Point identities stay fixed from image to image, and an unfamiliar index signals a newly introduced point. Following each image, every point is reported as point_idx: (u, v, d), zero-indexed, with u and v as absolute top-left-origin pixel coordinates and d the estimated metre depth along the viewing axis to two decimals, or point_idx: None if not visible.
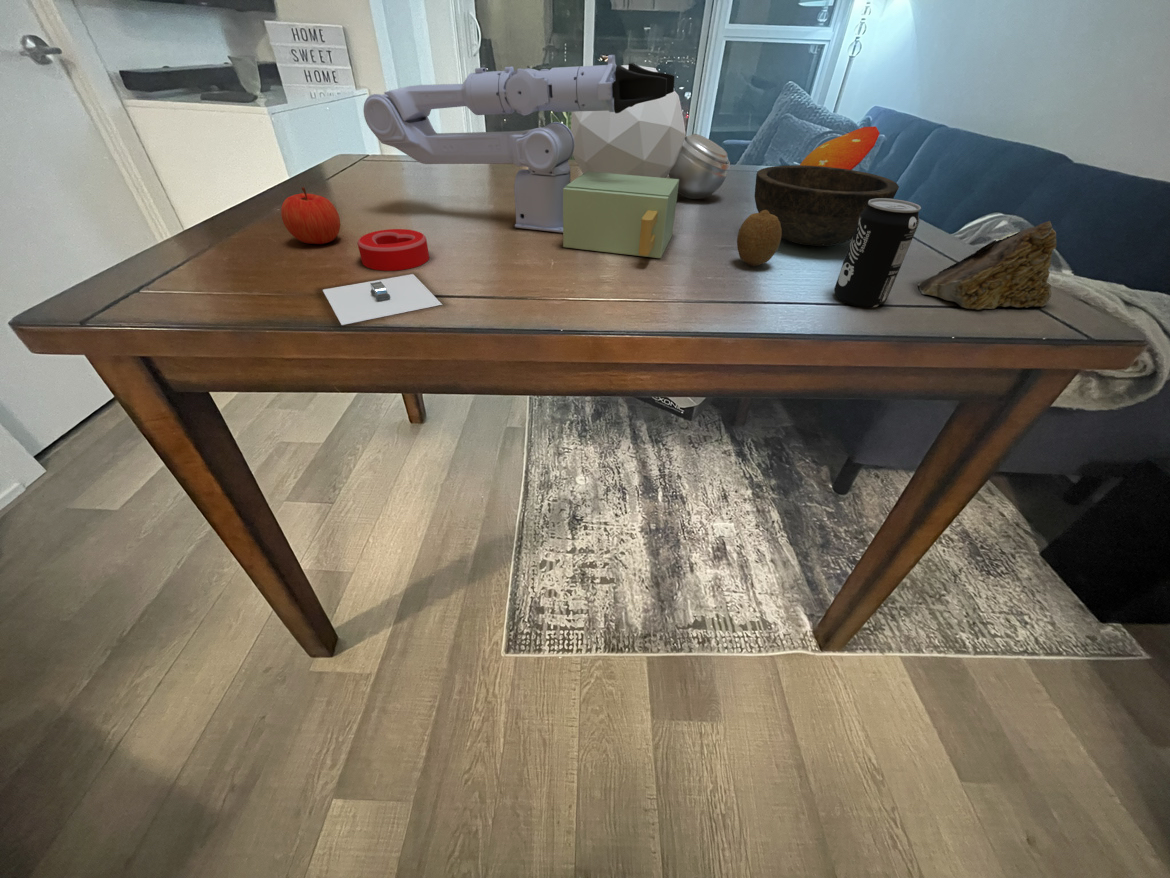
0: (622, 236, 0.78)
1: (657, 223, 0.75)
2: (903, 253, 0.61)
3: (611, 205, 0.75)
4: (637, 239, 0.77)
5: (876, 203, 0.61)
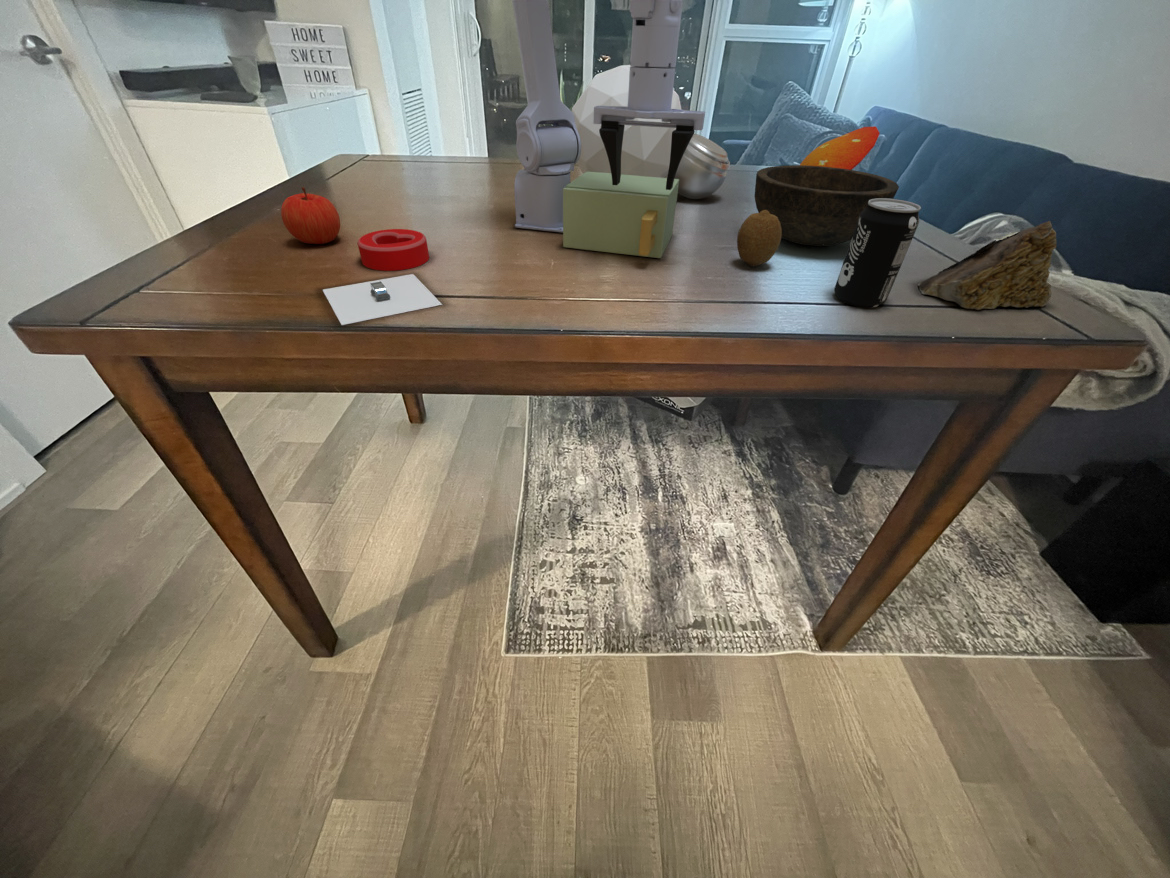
0: (622, 236, 0.78)
1: (657, 223, 0.75)
2: (903, 253, 0.61)
3: (611, 205, 0.75)
4: (637, 239, 0.77)
5: (876, 203, 0.61)
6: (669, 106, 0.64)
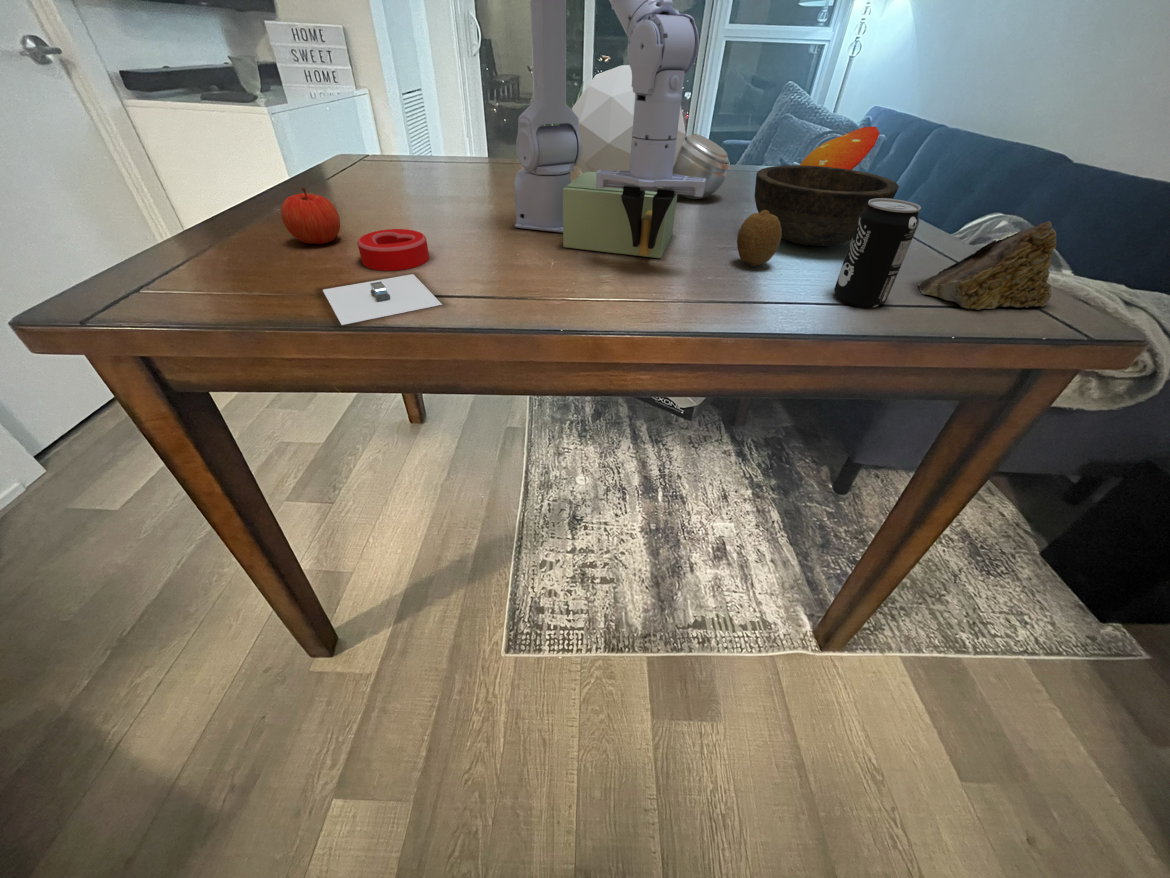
0: (622, 236, 0.78)
1: None
2: (903, 253, 0.61)
3: (611, 205, 0.75)
4: None
5: (876, 203, 0.61)
6: (670, 174, 0.65)
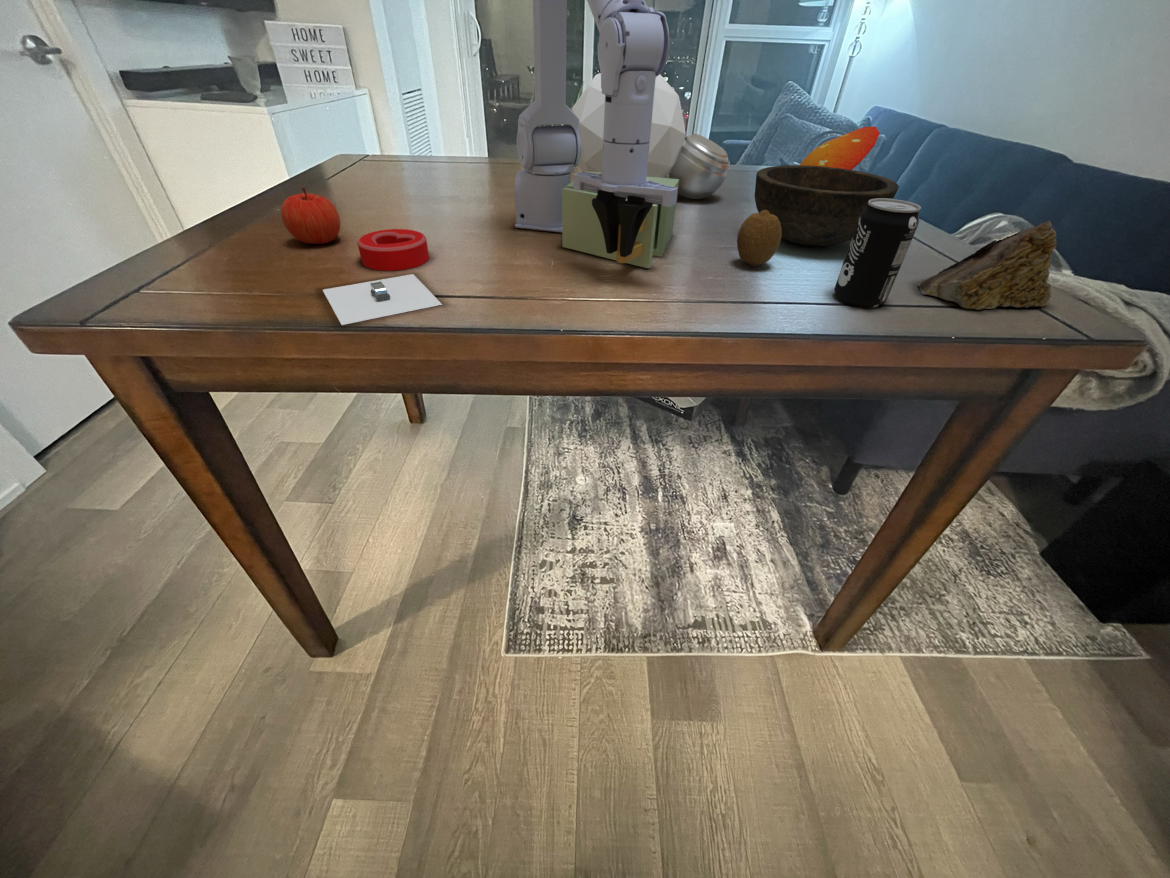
0: None
1: (645, 231, 0.72)
2: (903, 253, 0.61)
3: None
4: None
5: (876, 203, 0.61)
6: (639, 180, 0.62)
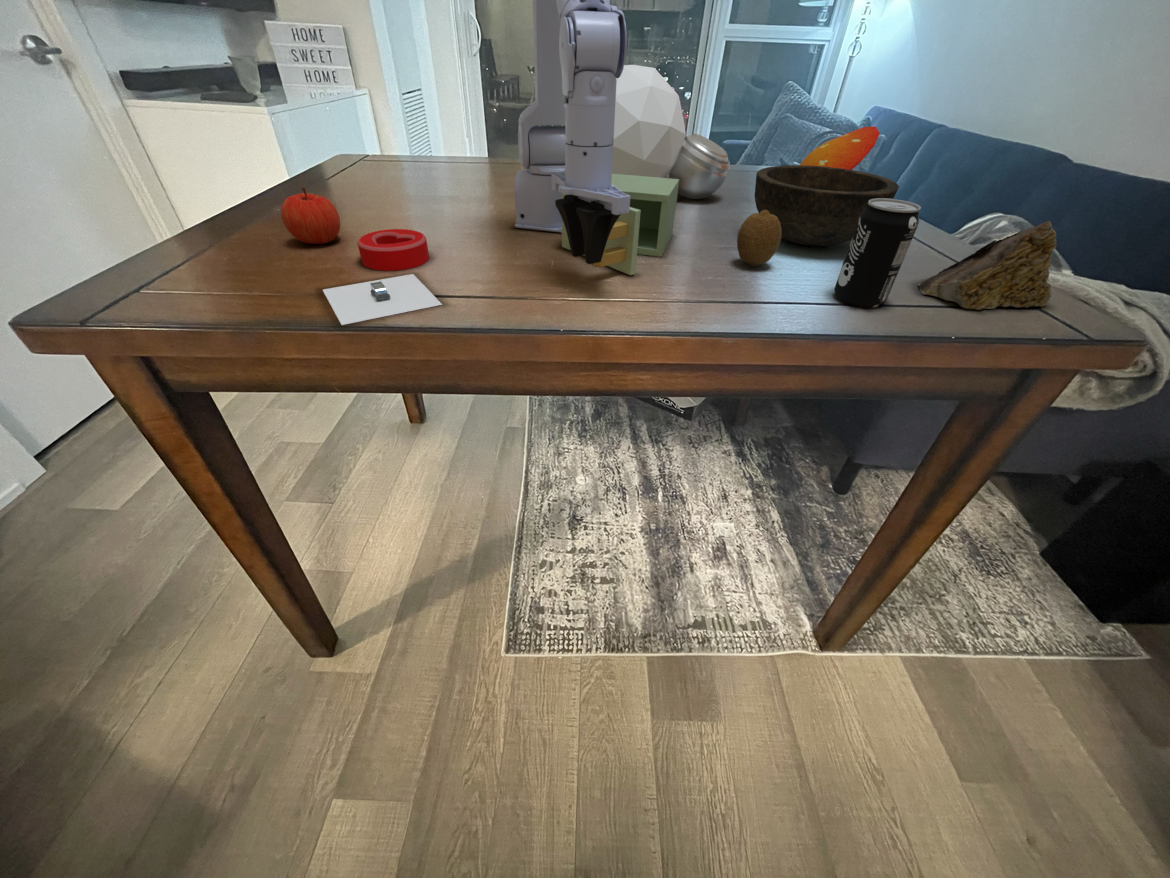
0: None
1: (627, 237, 0.69)
2: (903, 253, 0.61)
3: None
4: None
5: (876, 203, 0.61)
6: (596, 185, 0.60)
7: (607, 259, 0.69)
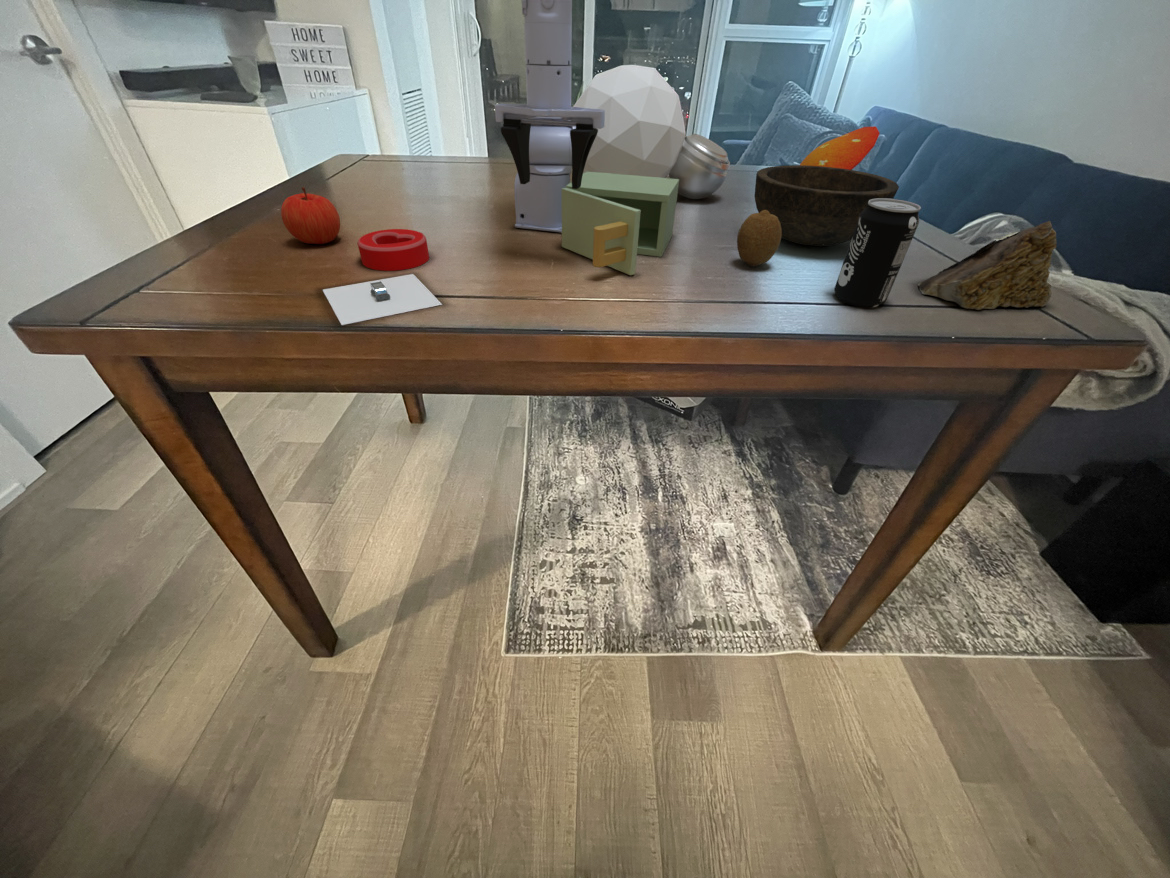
0: None
1: (627, 237, 0.69)
2: (903, 253, 0.61)
3: (594, 211, 0.72)
4: None
5: (876, 203, 0.61)
6: (567, 104, 0.63)
7: (607, 259, 0.69)
